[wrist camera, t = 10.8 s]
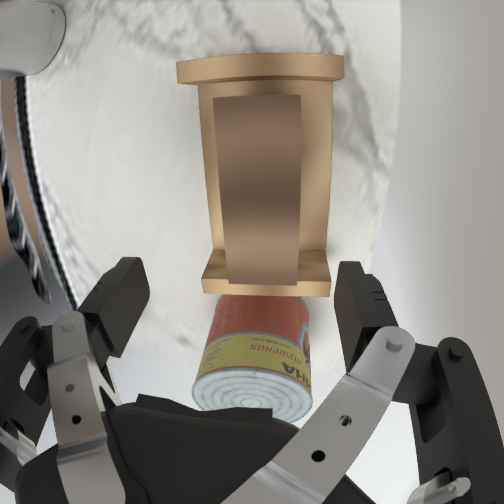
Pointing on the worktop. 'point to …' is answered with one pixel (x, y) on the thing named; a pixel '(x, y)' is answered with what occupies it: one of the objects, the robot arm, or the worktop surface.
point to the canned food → (257, 357)
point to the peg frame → (312, 153)
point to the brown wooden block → (260, 186)
